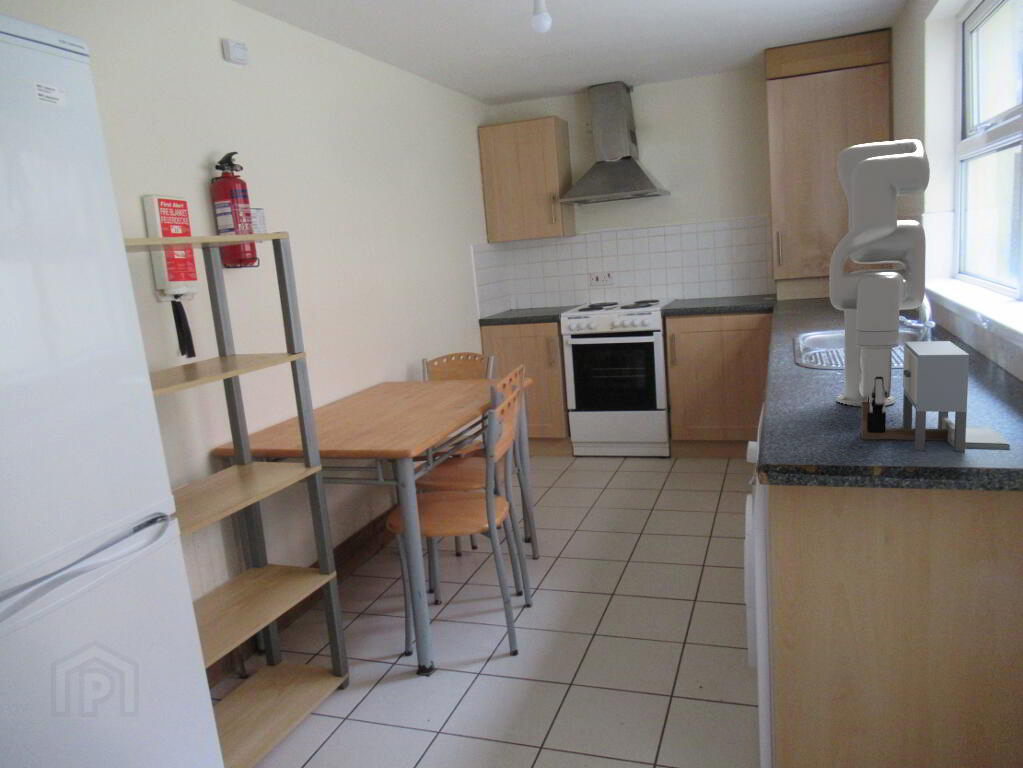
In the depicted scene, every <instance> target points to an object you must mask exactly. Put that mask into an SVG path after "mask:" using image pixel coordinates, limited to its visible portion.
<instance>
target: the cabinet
mask: <svg viewBox="0 0 1023 768" xmlns="http://www.w3.org/2000/svg"><path fill="white" fill-rule="evenodd" d="M969 364H970V354H969V353H967V352H966V351H965V350H963V349H961V348H960V347H959V346H958V345H956V344H954V343H953V342H952V341H950V340H945V341H944V340H938V341H937V340H932V341H929V340H926V341H904V345H903V364H902V365H903V368H902V370H903V371H902V388H903V398H902V401H903V402H902V403H903V405H902V406H903V407H902V428H910V429H913V408H914V409H915V419H914V421H915V425H914V429H915V440H914V450H915V451H916V450H925V451H926V440H925V429H927V428H926V426H927V424H926V423H927V421H926V420H927V412H932V413H933V412H935V413H936V412H937V413H938V414H937V415H938V418H937V419H938V420H937V429H942V417H946V418H949V412H950V413H951V412H952V413H953V412H954V413H955V416H954V425H955V436H954V446H953V450H954V452H955V451H960V453H964V452H965V453H966V448H965V439H966V427H967V415H968V414H967V413H968V391H969V390H968V388H969V387H968V384H969V367H970V365H969Z"/></svg>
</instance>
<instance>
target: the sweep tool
mask: <svg viewBox="0 0 1023 768" xmlns="http://www.w3.org/2000/svg"><path fill="white" fill-rule="evenodd" d="M860 407H861V409H860V410H861V411H860V412H861V413H860V414H861V418H860V420H861V421H860V423H861V424H860V436H861V439H862V440H874V441H877V440H908V441H909V440H912V441H913V440H914V441H915V428H912V429H910V428H903V427H901V428H897V427H895V428H893V427H886V429H885V433H869V432H868V431H867V417H868V412H869V402H862V406H860ZM954 436H955V423H953V422H952V420H951V419H950V418H949V417H948V418H946V417H942V429H938V428H926V429H925V441H947V442H948V444H950V446H952V447H954ZM875 439H876V440H875Z"/></svg>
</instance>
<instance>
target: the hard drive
mask: <svg viewBox="0 0 1023 768" xmlns="http://www.w3.org/2000/svg"><path fill="white" fill-rule="evenodd" d="M965 447H966V448H965V449H991V448H995V449H994V450H998V449H999V450H1001V449H1002V450H1010V449H1011V444H1010V443H1008V442H1007V441H1006V439H1004V438H1003V436H1001V435H1000V434H999V432H997V431H996V430H995V429H994V428H992V427H971V426H970V427H969V426H966V439H965ZM996 448H997V449H996Z"/></svg>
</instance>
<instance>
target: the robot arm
mask: <svg viewBox="0 0 1023 768" xmlns="http://www.w3.org/2000/svg"><path fill="white" fill-rule="evenodd" d="M836 160H837V161H836V168H837V175H838V179H839V183H840V185H841V188H842V190H843V193H844V195H845V198H846V201H847V204H848V231H847V233H846V234H845V236H844V237H843V238H842V239H840V241H839V242H838V243H837V246H836V247H835V249H834V250H833V253H832V255H831V258H830V262H829V269H828V271H829V274H828V275H829V278H828V279H829V281H828V282H829V283H828V284H829V287H828V289H829V290H828V292H829V294H828V295H829V296H828V297H829V301H830V303H831V306H833V308H835V309H836V310H839V311H843V316H844V360H843V361H844V371H843V372H844V373H843V377H844V379H843V382H844V384H843V393H840V394H838V395H837V397H836V402H838V403H839V402H840V403H839V404H841V403H843V404H842V405H845V404H847V406H851V405H852V406H853V407H861V406H862V402H869V412H868V417H867V431H868V432H869V433H885V429H886V428H887V426H886V424H887V423H886V422H887V421H886V420H887V417H886V416H887V413H886V406H891V405H893V404H894V403H895V401H896V398H895V396H893V395H891V388H892V387H891V386H892V368H893V366H892V364H893V363H892V362H893V357H892V356H893V349H894V348H895V349H896V348H898V347H899V346H900V345H899V344H900V343H899V341H900V339H899V337H900V311H901V310H914V309H917V308H919V307H921V305H922V304H923V302H924V300H925V299H924V298H925V295H926V294H925V292H926V253H927V252H926V250H927V249H926V243H927V241H926V233H925V229H924V227H923V225H922V224H921V223H920V222H919V221H917V220H914V219H913V220H912V219H906V220H903V219H902V220H898V200H897V199H898V197H900V196H901V197H903V196H913V195H919V194H922V193H924V192H925V191H926V190H927V188H928V186H929V183H930V178H931V177H930V174H931V172H930V171H931V170H930V163H929V162H930V161H929V158H928V155H927V151H926V149H925V145H924V144H923V143H922V141H921V140H918V139H901V140H894V141H882V142H880V141H879V142H869V143H862V144H857V145H852V146H849V147H846V148H844V149H843V150H841V151H840V152H839V153H838V156H837V159H836ZM848 258H850V260H851V261H852V262H853V263H854V264H855V263H856V264H861V265H862V264H863V265H868V264H870V265H873V264H875V265H876V264H892V263H893V264H895V263H896V264H897V263H898V264H901V265H902V267H903V268H885V269H884V268H880V269H878V268H877V269H862V270H855V271H853V272H850V273H844V266H845V262H846V261H847V260H848Z"/></svg>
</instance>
